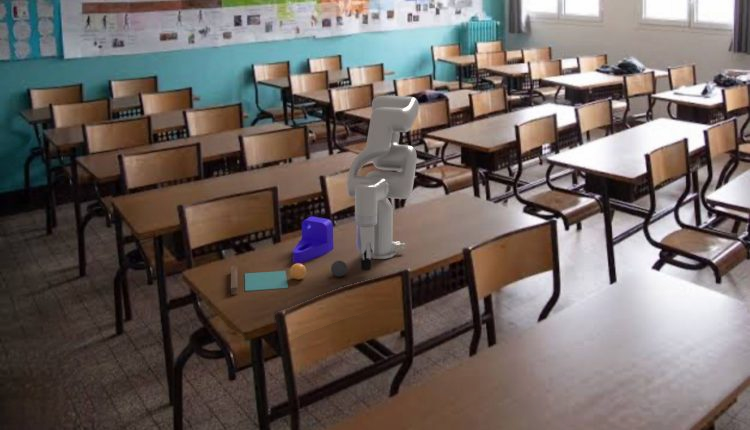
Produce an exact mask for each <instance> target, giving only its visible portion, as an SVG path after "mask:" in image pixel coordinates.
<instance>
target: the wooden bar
mask: <svg viewBox="0 0 750 430" xmlns="http://www.w3.org/2000/svg"><path fill="white" fill-rule="evenodd" d="M238 274H239V273H238V265H231V267H230V294H231V295H233V296H234V295H238V291H239V290H238V289H239V288H238V286H239V285H238V276H239V275H238Z"/></svg>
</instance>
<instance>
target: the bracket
mask: <svg viewBox="0 0 750 430" xmlns="http://www.w3.org/2000/svg"><path fill="white" fill-rule="evenodd" d="M333 250H334V224H333V222H332V220H331V219H328V218H323V217H317V216H313V215H312V216H309V217H307V218H306V219H304V220H303V221H301V239H300V240H299V241H298V243H297V244H296V245H295V247H294V248H293V250H292V263H293V264H296V263H300V264H303V263H305V262H308V261H310V260H312V259H316V258H318V257H321V256H325V255H326V254H329V253H330V252H331V251H333Z"/></svg>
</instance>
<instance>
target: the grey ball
mask: <svg viewBox="0 0 750 430" xmlns="http://www.w3.org/2000/svg"><path fill="white" fill-rule="evenodd" d="M346 264H347V263H346V262H344V261H343V260H335V261H333V262H332V264H331V267H330V271H331V274H332V275H334V276H335V277H339V278H340V277H343V276H344V275H346V273H347V271H348V267H347V265H346Z"/></svg>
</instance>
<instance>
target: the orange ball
mask: <svg viewBox="0 0 750 430" xmlns="http://www.w3.org/2000/svg"><path fill="white" fill-rule="evenodd" d="M289 274H290V276H291V277H292V278H293V279H295V280H302V279H303V278H305V276H306V275H307V267H306V266H305V265H304V264H303V263H293V265H291V267H290V269H289Z"/></svg>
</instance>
